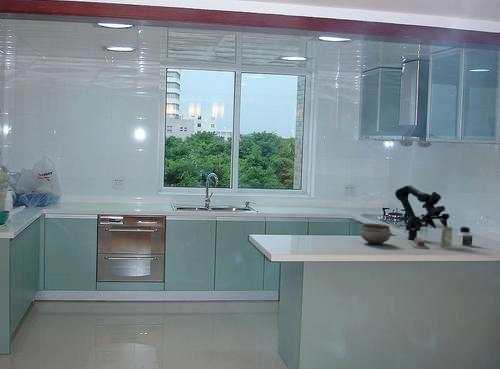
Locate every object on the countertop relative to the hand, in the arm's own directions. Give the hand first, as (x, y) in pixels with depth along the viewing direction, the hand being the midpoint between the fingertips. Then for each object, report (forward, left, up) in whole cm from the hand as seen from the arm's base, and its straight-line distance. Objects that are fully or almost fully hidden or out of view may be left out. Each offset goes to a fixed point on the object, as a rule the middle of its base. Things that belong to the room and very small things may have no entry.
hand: (441, 227), depth 389 cm
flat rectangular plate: (+6, -14, -12) cm, 19 cm away
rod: (+5, +3, -12) cm, 13 cm away
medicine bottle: (-12, +18, -12) cm, 25 cm away
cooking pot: (+9, -42, -12) cm, 45 cm away
